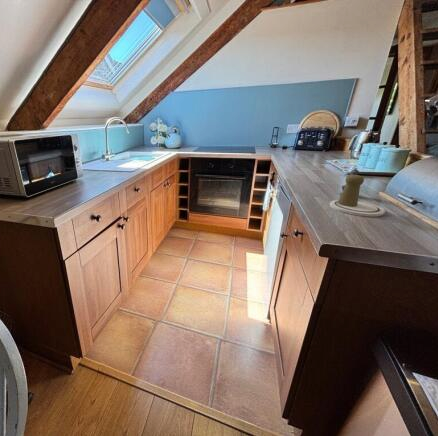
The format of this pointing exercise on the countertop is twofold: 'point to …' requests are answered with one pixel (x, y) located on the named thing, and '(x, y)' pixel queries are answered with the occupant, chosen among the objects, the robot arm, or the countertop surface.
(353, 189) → the cork
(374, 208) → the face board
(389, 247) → the countertop surface
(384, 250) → the countertop surface
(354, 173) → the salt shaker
